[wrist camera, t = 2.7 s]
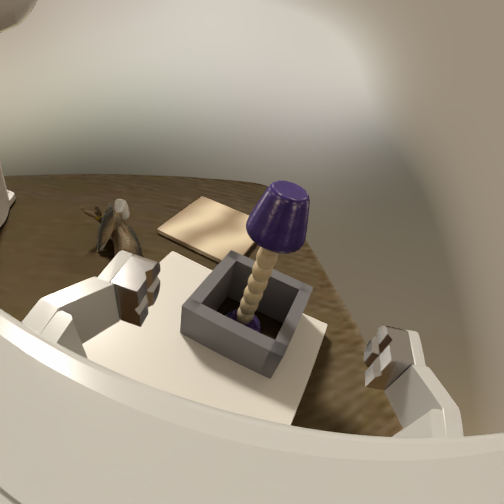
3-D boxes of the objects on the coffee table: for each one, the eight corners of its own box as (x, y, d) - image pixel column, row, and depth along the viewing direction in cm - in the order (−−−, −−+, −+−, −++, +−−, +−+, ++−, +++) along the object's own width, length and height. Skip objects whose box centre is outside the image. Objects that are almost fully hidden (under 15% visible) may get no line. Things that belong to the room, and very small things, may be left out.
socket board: (71, 358, 23) (55, 323, 20) (172, 260, 37) (174, 223, 34) (264, 475, 19) (285, 464, 16) (322, 332, 33) (342, 300, 30)
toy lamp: (270, 326, 32) (326, 190, 22) (253, 357, 29) (312, 214, 19) (231, 307, 33) (269, 166, 23) (211, 335, 30) (243, 185, 20)
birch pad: (156, 232, 40) (156, 229, 40) (201, 199, 50) (202, 196, 49) (233, 269, 38) (234, 265, 38) (267, 227, 47) (268, 223, 47)
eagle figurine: (69, 234, 34) (85, 266, 29) (89, 184, 34) (110, 205, 28) (114, 248, 40) (140, 279, 35) (135, 203, 40) (164, 226, 34)
